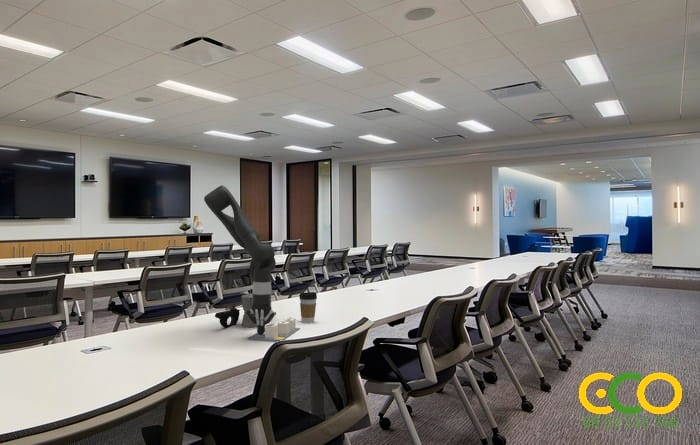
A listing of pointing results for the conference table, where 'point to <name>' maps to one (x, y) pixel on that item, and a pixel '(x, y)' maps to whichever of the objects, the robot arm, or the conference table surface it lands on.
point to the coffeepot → (246, 307)
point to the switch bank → (262, 338)
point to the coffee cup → (308, 306)
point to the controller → (226, 314)
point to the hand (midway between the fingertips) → (260, 334)
